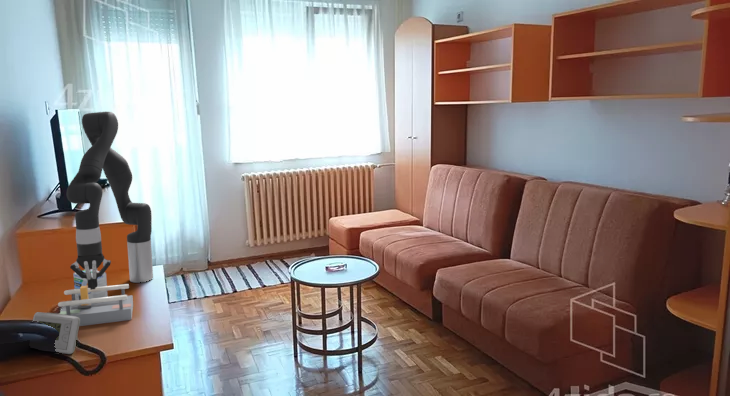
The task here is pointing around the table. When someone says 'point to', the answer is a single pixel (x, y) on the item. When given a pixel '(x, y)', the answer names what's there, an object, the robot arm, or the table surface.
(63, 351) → the digital clock
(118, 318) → the breaker panel
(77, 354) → the table surface
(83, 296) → the breaker toggle
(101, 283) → the light bulb box
